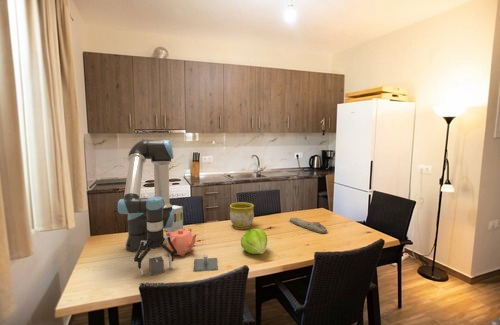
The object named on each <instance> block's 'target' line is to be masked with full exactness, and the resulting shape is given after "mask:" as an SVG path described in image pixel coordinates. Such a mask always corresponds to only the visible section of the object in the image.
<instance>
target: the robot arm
mask: <svg viewBox="0 0 500 325" xmlns="http://www.w3.org/2000/svg"><path fill="white" fill-rule="evenodd" d="M173 159H174V149H173V145H172V142H171V140H169V139H142V140H140V141H138V142H136V143H135V144H134V145H133V146H132V147H131V149H130V151H128V156H127V160H128V169H127V174H126V180H125V181H126V182H125V188H124V194H123V198H120V199H118V201H117V211H118V213H119V214H120V215H127V228H128V231H127V233H128V236H127V240H126V242H125V250H126V251H128V252H136V253H135V255H134V257H133V262H134V263H137V267H138V269H139V270H140V275H141V276H144V266H143V265H144V261H143V260H144V259H145V257H146V256H147V254H148V253H149V252H150V251H151V250H153V249H160V247H161V248H163V249H164V251H166V252H167V253H168V265H169V269H170V270H172V268H173V265H172V264H173V263H172V262H174V261H175V260H174V258H175V255H178V254H177V251H176V249H175V247H174V246H173V244H172V242H171V239H170V237H169V236H165V235H164V230H165V228H170V227H172V225H173V219H174V210H175V209H174V208H172V206H173V205H172V204H171V203H170V169H169V168H170V167H169V165H170V164H171V163H172V160H173ZM146 160H150V163H152V164H153V170H154V171H153V175H154V176H153V179H154V180H153V181H154V182H153V184H154V189H153V190H154V196H151V197H141V190H142V189H141V188H142V179H143V172H144V171H143V170H144V163H146ZM164 236H165V237H164ZM165 241H166V242H169V244H170V246H171V247H172V249H173V251H171V250H170V249H169V248H168V247H167V245H166V244H165V243H164V242H165Z"/></svg>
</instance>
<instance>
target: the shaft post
mask: <svg viewBox="0 0 500 325" xmlns="http://www.w3.org/2000/svg"><path fill="white" fill-rule="evenodd" d="M217 270H219V268H218V257H209V256H208V254H206V255H205V254H204V255H203V258H194V261H193V272H206V271H217Z"/></svg>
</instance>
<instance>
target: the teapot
mask: <svg viewBox="0 0 500 325" xmlns="http://www.w3.org/2000/svg"><path fill="white" fill-rule="evenodd" d="M198 235H199V233H194V234H193V233H192V228H188V229H187V230H186V229H184V228H183V229H179V230H177V231H175V232H173V233H172V232H168V231H166V233H165V237H167V236H169V237H170V239H171V242H172V244H173V246H174V247H175V249H176V251H177V254H176V255H178V256H179V257H180V258H181V257H185V255H186V254H188V253H190V252H192V250H193V248H194V246H195V244H196V238H197V236H198ZM166 242H167V243H166V246H167V247H168V248H169V249H170V250H171V251H173V249H172V247H171V246H170V244H169V242H168V241H166Z"/></svg>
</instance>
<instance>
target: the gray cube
mask: <svg viewBox="0 0 500 325" xmlns="http://www.w3.org/2000/svg"><path fill="white" fill-rule="evenodd" d="M148 270H149V273H150V276H155V275H159V274H164V273H165V261H164V258H163V256H159V255H158V256H155V257H150V258H148Z"/></svg>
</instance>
